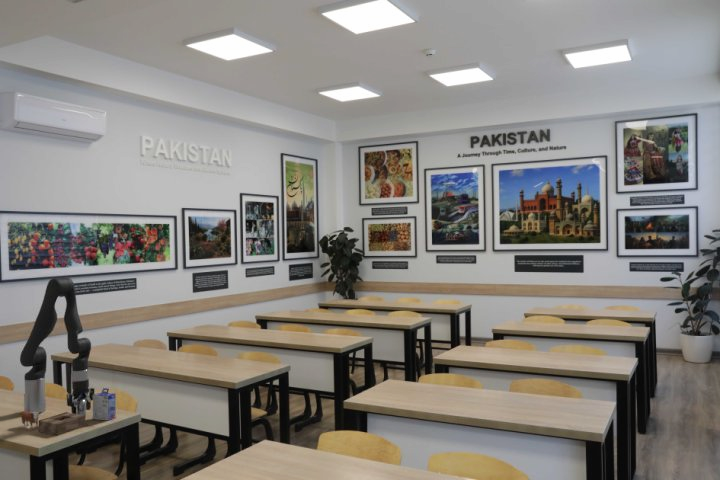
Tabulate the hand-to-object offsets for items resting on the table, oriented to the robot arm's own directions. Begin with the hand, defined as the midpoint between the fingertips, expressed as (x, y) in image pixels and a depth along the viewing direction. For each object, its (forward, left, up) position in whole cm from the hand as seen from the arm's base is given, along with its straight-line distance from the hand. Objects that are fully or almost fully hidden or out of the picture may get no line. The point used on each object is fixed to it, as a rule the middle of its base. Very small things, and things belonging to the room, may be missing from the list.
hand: (81, 411), depth 284 cm
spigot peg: (0, 0, -3) cm, 3 cm away
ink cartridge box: (+12, +4, -3) cm, 13 cm away
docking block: (+7, -15, -3) cm, 17 cm away
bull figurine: (-9, -20, -3) cm, 22 cm away
